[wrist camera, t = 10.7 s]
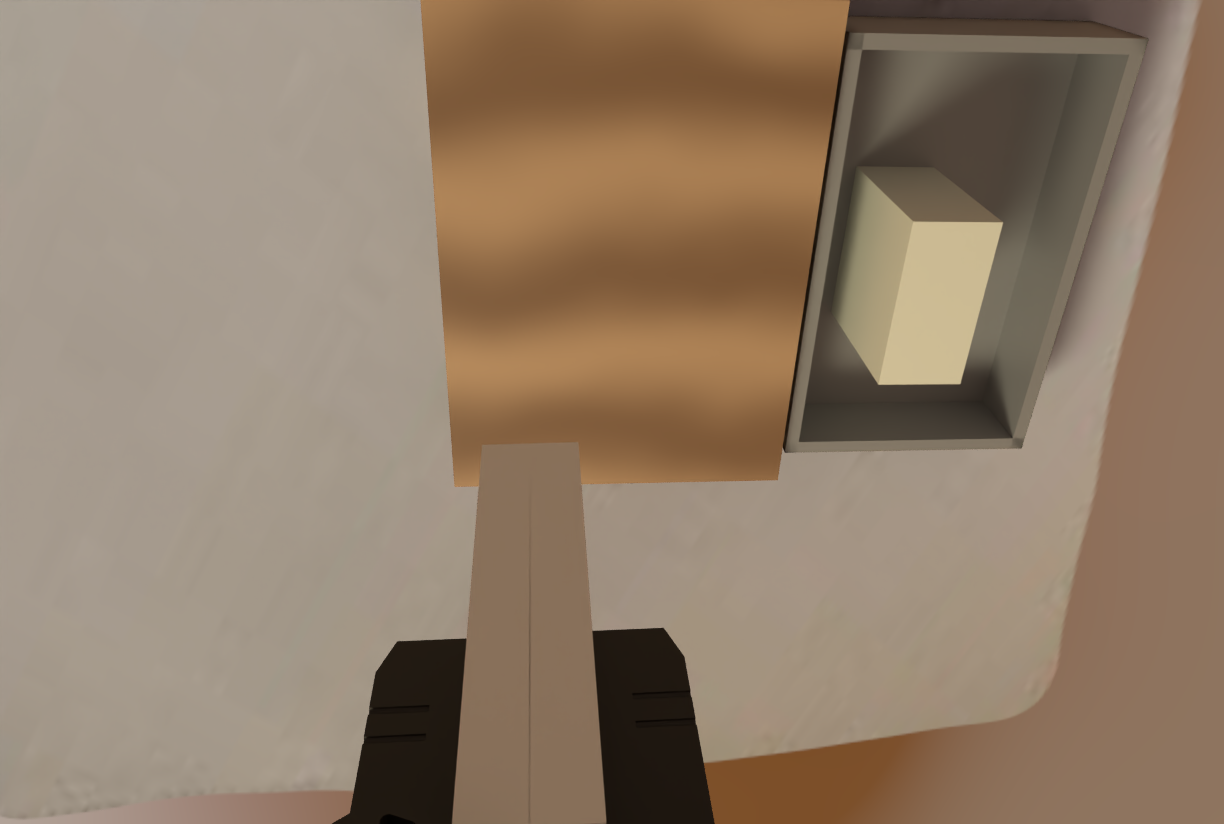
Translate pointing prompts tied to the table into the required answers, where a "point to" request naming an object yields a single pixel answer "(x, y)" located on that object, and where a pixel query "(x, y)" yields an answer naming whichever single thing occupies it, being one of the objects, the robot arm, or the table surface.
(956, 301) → the block
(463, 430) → the board
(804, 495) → the table surface
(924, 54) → the tray
